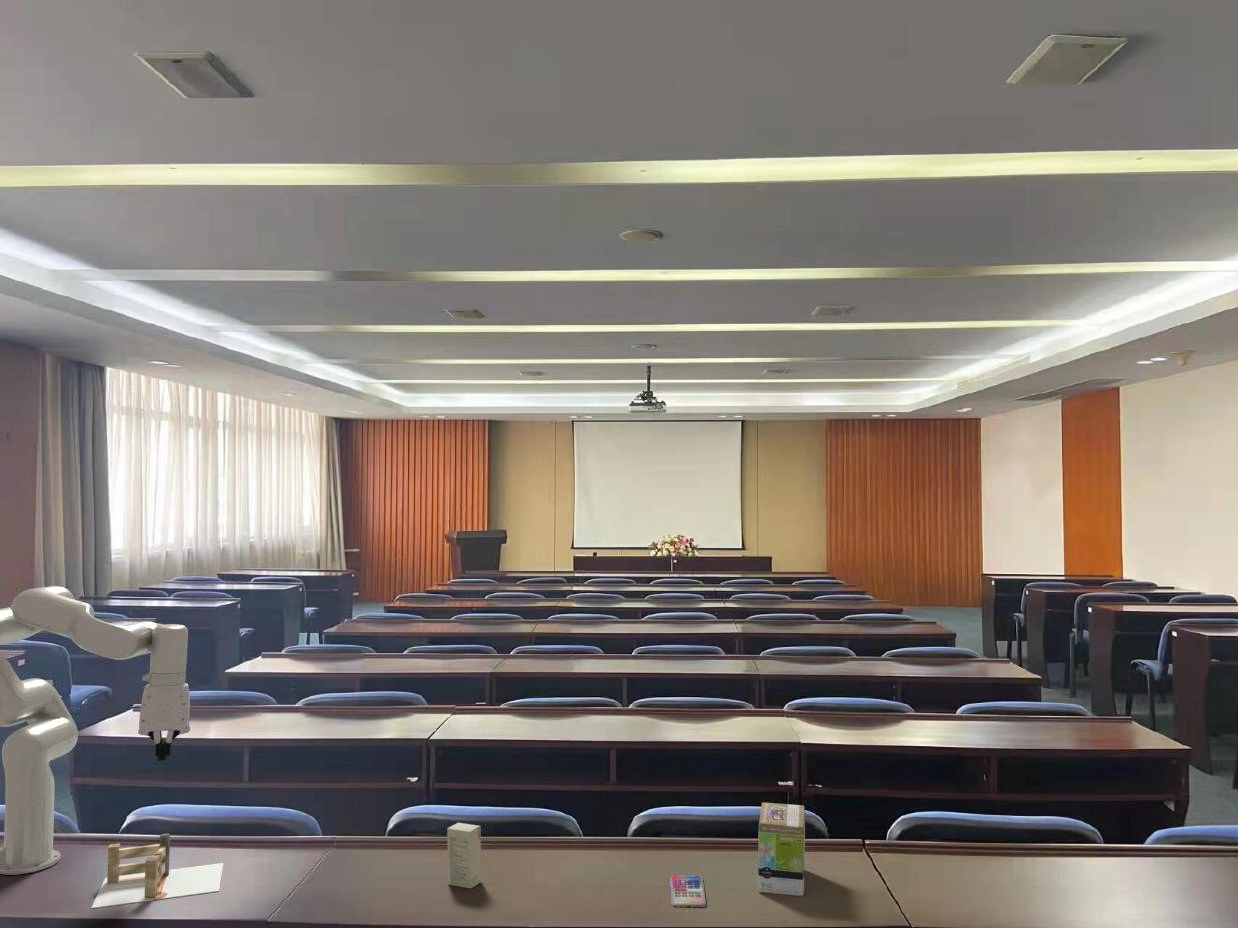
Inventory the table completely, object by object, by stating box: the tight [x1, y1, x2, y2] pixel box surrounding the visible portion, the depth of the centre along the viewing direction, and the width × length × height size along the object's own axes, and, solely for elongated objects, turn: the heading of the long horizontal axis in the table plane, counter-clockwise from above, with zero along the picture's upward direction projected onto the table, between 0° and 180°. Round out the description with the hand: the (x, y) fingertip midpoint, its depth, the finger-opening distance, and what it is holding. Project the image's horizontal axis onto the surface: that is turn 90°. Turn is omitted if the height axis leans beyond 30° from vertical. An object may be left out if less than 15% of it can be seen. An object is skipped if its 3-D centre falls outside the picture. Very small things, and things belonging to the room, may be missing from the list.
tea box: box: [757, 802, 806, 897], centre depth 200 cm, size 15×10×15 cm
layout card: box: [91, 862, 224, 910], centre depth 197 cm, size 24×16×1 cm
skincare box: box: [446, 822, 482, 889], centre depth 199 cm, size 6×4×12 cm
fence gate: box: [144, 846, 166, 897], centre depth 196 cm, size 11×2×8 cm, turn 14°
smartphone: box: [669, 875, 707, 908], centre depth 194 cm, size 7×1×15 cm
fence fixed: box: [106, 833, 171, 884], centre depth 201 cm, size 12×2×9 cm, turn 110°
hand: (162, 759), depth 208 cm, fingers closed
